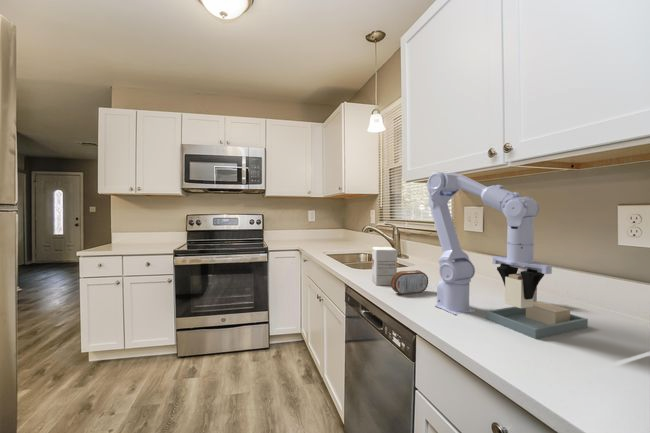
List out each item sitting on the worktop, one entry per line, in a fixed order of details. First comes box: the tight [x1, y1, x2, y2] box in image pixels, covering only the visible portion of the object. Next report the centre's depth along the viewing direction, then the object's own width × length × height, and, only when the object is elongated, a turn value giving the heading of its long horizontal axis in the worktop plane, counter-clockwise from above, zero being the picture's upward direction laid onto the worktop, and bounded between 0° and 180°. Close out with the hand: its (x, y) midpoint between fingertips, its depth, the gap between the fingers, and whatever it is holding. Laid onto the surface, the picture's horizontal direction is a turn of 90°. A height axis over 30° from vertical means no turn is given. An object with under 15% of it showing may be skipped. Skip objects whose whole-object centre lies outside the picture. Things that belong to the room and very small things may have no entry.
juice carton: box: [504, 273, 533, 308], centre depth 78 cm, size 4×4×8 cm
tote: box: [485, 306, 589, 340], centre depth 82 cm, size 14×20×3 cm
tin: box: [390, 269, 429, 295], centre depth 113 cm, size 15×3×8 cm, turn 108°
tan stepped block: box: [526, 300, 571, 325], centre depth 84 cm, size 8×6×4 cm
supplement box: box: [371, 246, 398, 286], centre depth 129 cm, size 9×9×15 cm
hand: (519, 296), depth 78 cm, fingers closed on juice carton, 4 cm apart
